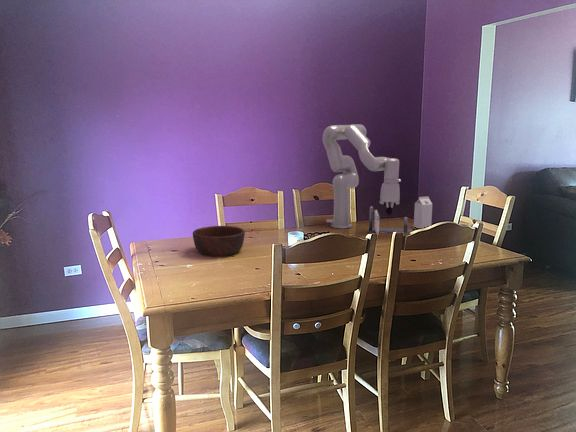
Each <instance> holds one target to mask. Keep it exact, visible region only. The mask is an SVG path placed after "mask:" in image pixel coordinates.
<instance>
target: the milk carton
mask: <svg viewBox="0 0 576 432" xmlns="http://www.w3.org/2000/svg"><path fill="white" fill-rule="evenodd" d="M413 215H414V216H413V228H414V227H416V228H424V227H427V226H430V225H431V226H432V220H433V219H432V217H433V202H432V201H431V199H430V196H426V195H425V196H419V197H418V199H417V200H416V201H415V202H414V214H413ZM416 228H415V229H416Z"/></svg>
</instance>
